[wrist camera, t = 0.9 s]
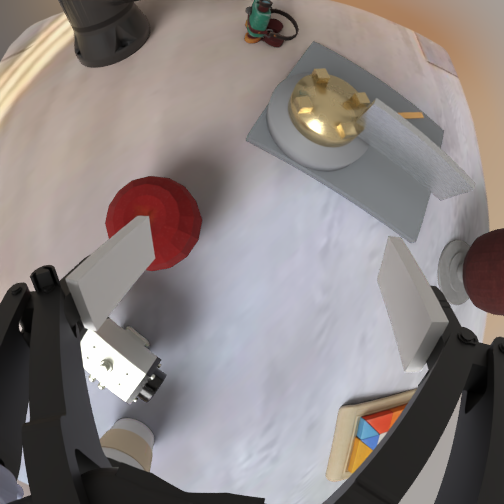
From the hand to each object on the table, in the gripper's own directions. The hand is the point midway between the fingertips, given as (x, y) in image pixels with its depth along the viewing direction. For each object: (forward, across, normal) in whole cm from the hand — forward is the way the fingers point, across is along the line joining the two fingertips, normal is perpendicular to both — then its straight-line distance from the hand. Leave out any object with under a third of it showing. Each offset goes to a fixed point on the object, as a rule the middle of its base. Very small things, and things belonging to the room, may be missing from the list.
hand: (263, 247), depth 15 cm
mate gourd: (+29, +34, -16) cm, 47 cm away
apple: (+19, -16, -9) cm, 26 cm away
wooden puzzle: (+9, +22, -41) cm, 48 cm away
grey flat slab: (+36, +13, +4) cm, 38 cm away
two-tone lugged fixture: (+29, +13, +3) cm, 32 cm away
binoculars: (+43, -5, +22) cm, 49 cm away
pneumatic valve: (+9, -19, -22) cm, 30 cm away
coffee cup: (0, -19, -35) cm, 40 cm away
